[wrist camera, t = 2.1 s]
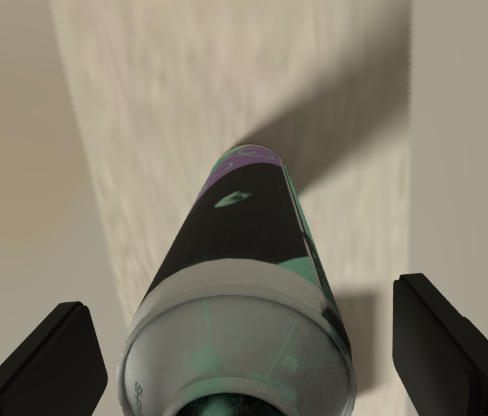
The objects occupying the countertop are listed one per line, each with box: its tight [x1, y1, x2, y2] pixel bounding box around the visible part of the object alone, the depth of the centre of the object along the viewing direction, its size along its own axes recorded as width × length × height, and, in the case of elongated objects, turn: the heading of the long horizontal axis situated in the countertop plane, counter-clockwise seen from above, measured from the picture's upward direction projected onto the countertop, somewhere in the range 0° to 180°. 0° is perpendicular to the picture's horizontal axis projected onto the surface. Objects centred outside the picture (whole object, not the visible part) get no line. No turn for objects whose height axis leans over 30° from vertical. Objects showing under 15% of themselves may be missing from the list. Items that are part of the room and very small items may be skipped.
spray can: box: [116, 144, 357, 416], centre depth 15 cm, size 6×6×20 cm
